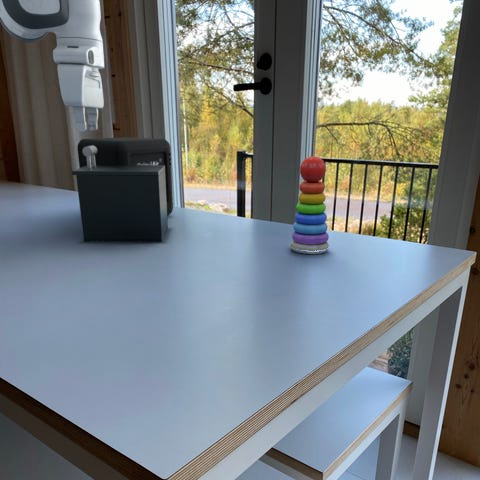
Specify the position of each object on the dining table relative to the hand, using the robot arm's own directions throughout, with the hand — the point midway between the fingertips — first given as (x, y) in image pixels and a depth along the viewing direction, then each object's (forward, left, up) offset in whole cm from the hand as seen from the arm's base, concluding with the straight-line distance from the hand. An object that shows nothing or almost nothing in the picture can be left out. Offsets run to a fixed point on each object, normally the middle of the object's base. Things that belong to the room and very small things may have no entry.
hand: (87, 131), depth 101 cm
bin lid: (+6, 0, -8) cm, 10 cm away
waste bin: (+7, 0, -22) cm, 23 cm away
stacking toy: (+47, -14, -23) cm, 54 cm away
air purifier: (+5, +19, -23) cm, 30 cm away
